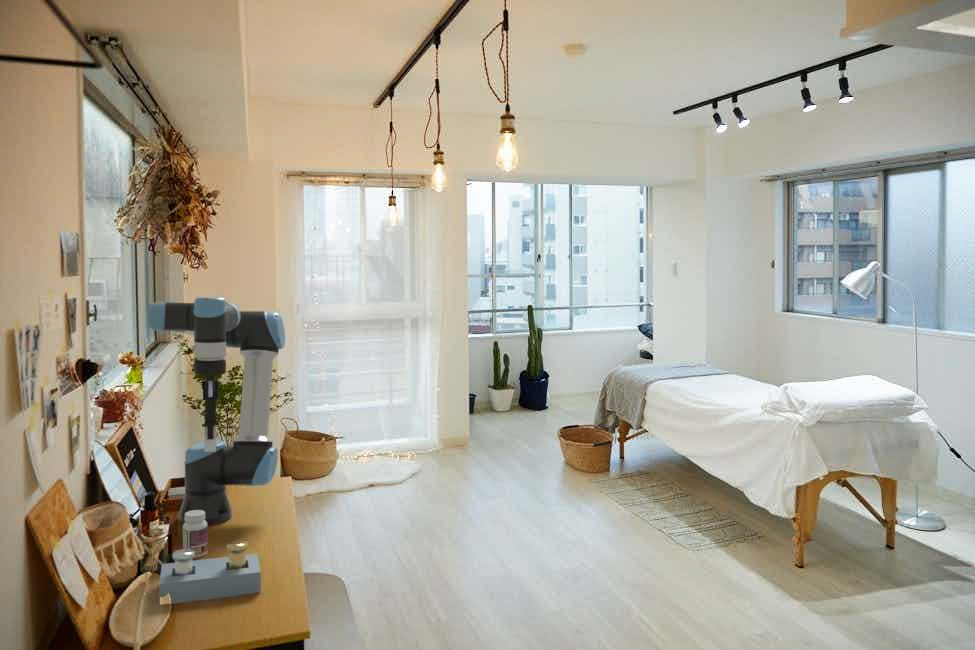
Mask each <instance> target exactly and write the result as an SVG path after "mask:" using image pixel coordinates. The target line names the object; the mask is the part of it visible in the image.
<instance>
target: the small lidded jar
mask: <svg viewBox="0 0 975 650" xmlns="http://www.w3.org/2000/svg"><path fill="white" fill-rule="evenodd" d="M194 556H195V551H194V550H192V549H183V548H181V549H177V550H175V551H173V552H172V561H174V563H175V576H182V575H191V574H192V561H193V559H194V558H193V557H194Z"/></svg>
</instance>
